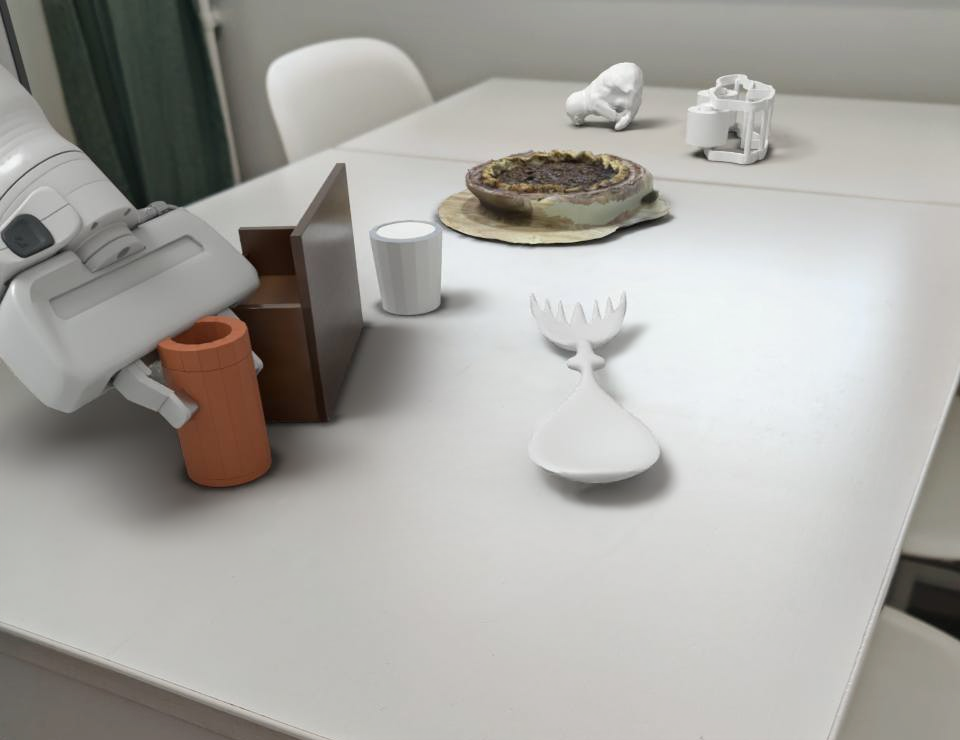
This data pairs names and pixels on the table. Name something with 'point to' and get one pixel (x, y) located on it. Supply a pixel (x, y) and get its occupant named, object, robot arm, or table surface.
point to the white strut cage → (731, 119)
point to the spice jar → (218, 402)
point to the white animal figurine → (609, 96)
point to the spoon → (589, 406)
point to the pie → (552, 197)
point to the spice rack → (304, 305)
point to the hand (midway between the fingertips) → (222, 397)
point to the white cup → (408, 265)
